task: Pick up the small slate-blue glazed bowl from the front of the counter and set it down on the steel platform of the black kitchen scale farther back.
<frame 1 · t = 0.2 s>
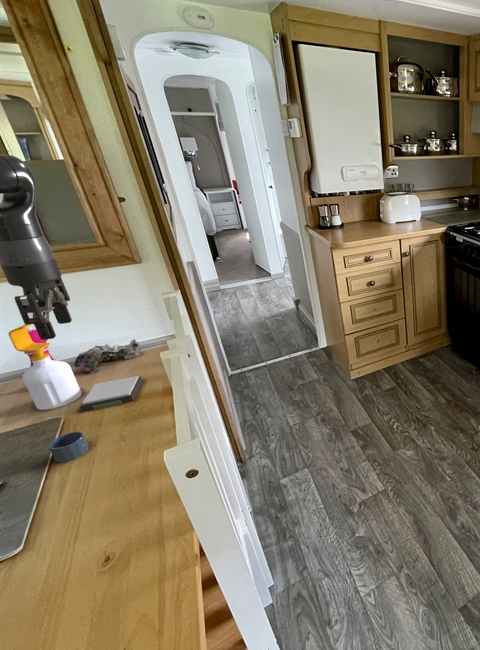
hand: (57, 330, 83), 30 cm above the table, tool pointing down, fingers open, 8 cm apart
scale: (115, 397, 109), on the table
foil: (113, 363, 126), on the table
spray bottle: (60, 402, 107), on the table
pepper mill: (53, 386, 114), on the table
bowl: (73, 454, 89), on the table
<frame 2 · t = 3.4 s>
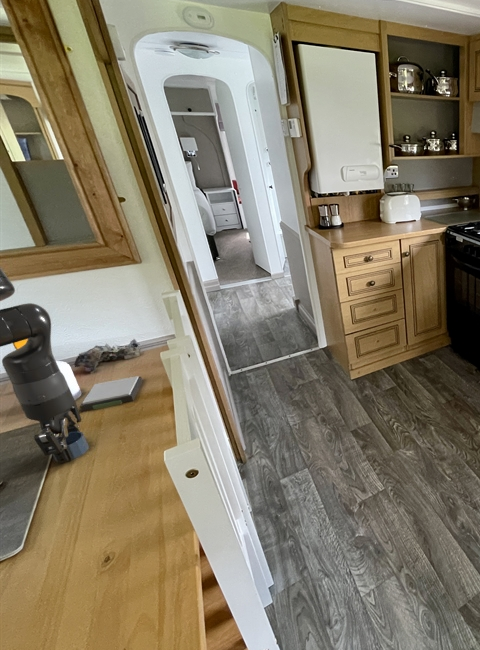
hand: (71, 452, 89), 1 cm above the table, tool pointing down, fingers closed on bowl, 6 cm apart
bowl: (73, 454, 89), on the table, touching gripper
everything else where it was.
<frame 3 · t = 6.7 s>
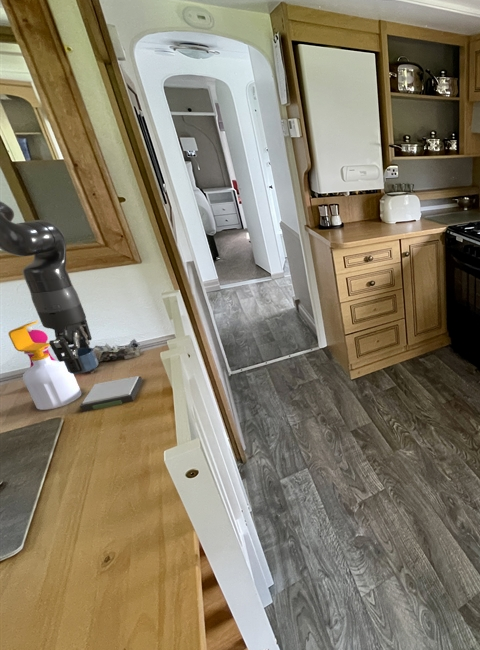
hand: (82, 365, 97), 15 cm above the table, tool pointing down, fingers closed on bowl, 6 cm apart
bowl: (83, 368, 97), point 14 cm above the table, touching gripper
everything else where it was.
when the fingers open (4 cm above the table, at t = 9.8 s): bowl stays where it is, resting on scale.
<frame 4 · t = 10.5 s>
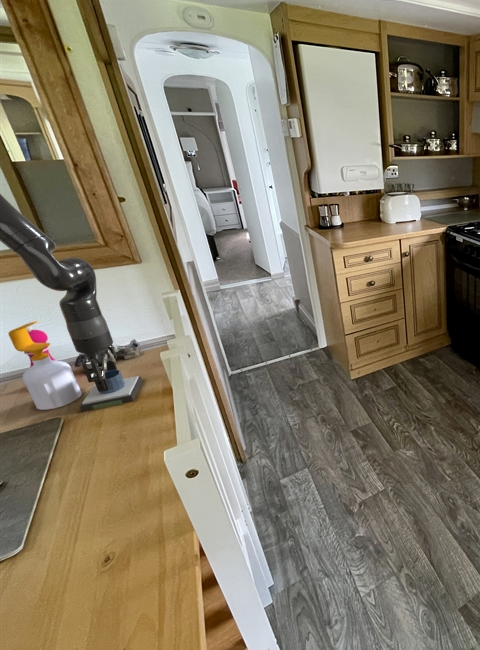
hand: (109, 382, 107), 5 cm above the table, tool pointing down, fingers open, 8 cm apart
bowl: (112, 388, 108), point 3 cm above the table, touching scale
everything else where it was.
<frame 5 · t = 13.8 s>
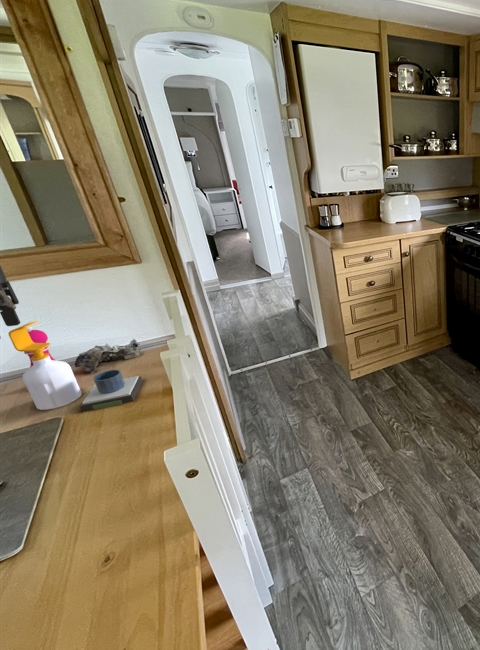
hand: (4, 332, 86), 28 cm above the table, tool pointing down, fingers open, 8 cm apart
nothing on the table moved.
at the end: bowl inside the target area on the scale (0.1 cm from its centre), point 3.0 cm above the scale's base; bowl tilted 0°; the gripper is holding nothing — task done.
